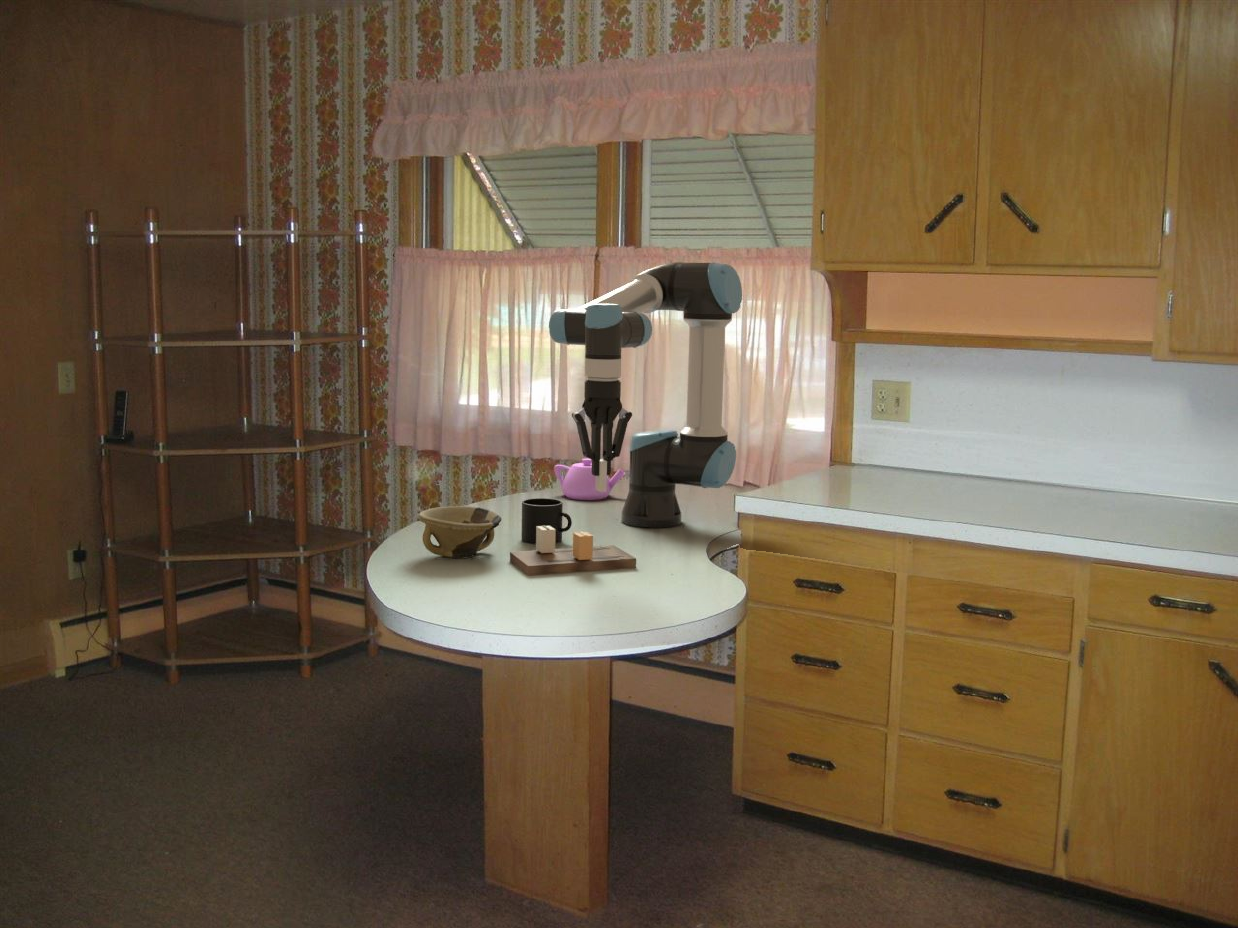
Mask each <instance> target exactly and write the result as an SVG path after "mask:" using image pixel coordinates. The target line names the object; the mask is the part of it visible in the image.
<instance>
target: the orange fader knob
mask: <svg viewBox="0 0 1238 928" xmlns="http://www.w3.org/2000/svg"><path fill="white" fill-rule="evenodd" d="M593 547H594V535H593V534H591V533H590V532H587V531H579V532H572V548H573V556H574V557H575V558H577V559H578V560H586V559H593Z"/></svg>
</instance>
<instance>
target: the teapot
mask: <svg viewBox="0 0 1238 928" xmlns="http://www.w3.org/2000/svg"><path fill="white" fill-rule="evenodd" d="M581 460H582V462H578V463H573V464H572V465H571V466H567V465H564V464H556V465H554V469H553V470H554V474H555V476H556V478H557V479H558V480H557V481H559V483H560V484H561V491H562V494H563V495H564V496H565V497H566V498H567V499H572V500H577V501H578V500H579V501H598V500H605V499H607V497H608V496H609V495H610V494H611V492H612V489H613V488H614V487H615V486H616V485H617V484H618V483H619V482H620V481H621V479H623V477H624V476H625V475H626V473H625V471H623V470H622V469H621V468H619V469H618V470H617V471H616V472H615V474H613V475H612V477H611V478H609V475H607V491H606V492H599V491H597V490H595V480H596V476H594V475H592V460H591V459H590V458H582V459H581ZM561 470H567V472H566V474H565V476H564V478H563V477H562V474H561Z"/></svg>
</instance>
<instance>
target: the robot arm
mask: <svg viewBox="0 0 1238 928" xmlns="http://www.w3.org/2000/svg"><path fill="white" fill-rule="evenodd" d="M740 278H741V277H740V276H739V275H738V272H737V270H736V269H735V268H734V267H733V266H732V265H731V264H729V263H721V262H716V261H715V262H681V261H680V262H679V261H677V262H676V261H674V262H668V263H664V264H661V265H658V266H655V267H652V268H650V269H647V270H645V271H642V272H641V273H639V274H636V275H635V276H633V277H631V279H630V280H629V281H628V283H626V284H625V285H622V286H621V287H618V288H616V289H614V290H613V291H611V292H608V293H606V294H604V295H602V296H600V297H598V298H596V299H594V300H592V301H590V302H588V303H586V304H583V305H582V306H581V305H580V306H579V307H577V308H574V309H569V308H564V309H556V310H555V311H554V312H552V314H551V315H550V318H549V322H548V329H549V335H550V337H551V339H552V341H553V342H554V343H558V344H564V345H567V346H570V345H573V346H585V355H584V376H585V377H586V378H587V379H585V381H584V391H583V392H584V394H583V395H584V400H583V403H582V406H581V408H580V409H579V410H577V411H573V412H572V414H571V417H572V419H573V420H574V422H575V423H576V428H577V433H578V436H579V442H580V447H581V452H582V455H583V457H585V458H586V459H591V460H592V462H591V463H592V475H594V476H596V480H595V490H597V491H599V492H606V491H607V475H608V476H610V475H611V474H612V473H611V472H612V471H611V470H612V461H613V460H614V458H619V457H620V455H621V451H622V447H623V445H624V444H623V443H624V439H625V435H626V431H627V429H628V428H627V427H628V424H629V422H630V420H631V418H632V417H633V413H632V412H631V411H628V410H626V408H623V403H622V402H621V390H622V387H621V386H622V382H621V381H620V380H619V378H621V377H622V349H626V348H633V349H636V348H638V347H641V346H644V345H645V344H647V343H648V342H649V341H650V339H651V337H652V333H653V325H652V322H651V320H650V317H648V316H647V315H646V314H650V313H653V312H655V311H656V312H657V311H676V312H677V311H678V312H683V318H682V319H683V321H684V322H685V323H686V324H687V325H688V327H689V329H688V330H689V332H688V334H689V337H688V362H687V365H688V366H687V367H688V368H687V392H686V394H687V395H686V396H687V397H686V399H687V400H686V401H687V402H686V403H687V404H686V425H685V426H684V427H683V428H682V429H681V430H680V432H679V434H678V431H677V430H674V429H659V430H650V431H649V430H648V431H641V432H637V433H635V434H633V435H632V437H631V439H630V446H629V483H628V488H629V489H628V493H627V496H626V499H625V503H624V504H623V505H624V506H623V508H622V510H621V522H622V523H623V524H625V525H628V526H633V527H640V528H650V529H651V528H655V529H656V528H659V529H661V528H669V527H670V528H671V527H676V526H679V525H681V524H682V511H681V509H680V508H681V507H680V504H679V501H678V498H677V494H676V485H680V486H681V485H682V486H683V485H684V486H693V487H700V488H703V489H707V488H708V489H720V488H723V487H724V486H725V485H726V484H727V482H729V480H730V479H731V477H732V474H733V473H734V470H735V469H734V468H735V466H736V460H737V450H736V446H735V444H734V443H733V442H731V441H729V440H728V435H729V434H728V432H727V430H726V429H725V428H724V427H723V425H722V424H723V396H724V370H725V368H724V367H725V347H726V345H725V343H726V341H725V339H726V327H727V326H728V325H729V324H730V323H731V322H733V321H732V318H733V314H736V313H738V311H739V310H740V308H741V303H742V301H743V289H742V288H743V287H742V282H741V279H740ZM586 417H587V418H588V419H589V421H590V428H591V433H590V434H591V436H590V437H591V438H589V432H588V429H587V423H586V422H585V421H586ZM617 417H618V419H617V420H618V421H617V424H616V428H615V433H614V436H613V428H614V421H615V420H616V418H617ZM601 433H602V434H601ZM601 437H602V439H601ZM590 440H591V442H590ZM601 443H602V444H601ZM601 445H602V446H601ZM601 447H602V451H601ZM601 452H602V458H601Z"/></svg>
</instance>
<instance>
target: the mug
mask: <svg viewBox="0 0 1238 928" xmlns="http://www.w3.org/2000/svg"><path fill="white" fill-rule="evenodd" d="M563 505H564V504H563V501H562V500H559V499H556V498H555V499H554V498H547V497H546V498H545V497H544V498H543V497H542V498H541V497H539V498H537V497H536V498H528V499H524V500H522V501H521V536H520V537H521V541H522V542H524V543H527V544H534V545H536V526H542V525H545V526H551V527H552V528H554V529H555V544H557V543H559V542H561V541H562V540H563V532H567V531H569V530H570V529H571V527H572V524H573V521H572V518H571V515H570V514H568V513H566V512H564V511H563ZM563 517H564V518H565V519H566V521H567V526H566V527H563Z"/></svg>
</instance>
